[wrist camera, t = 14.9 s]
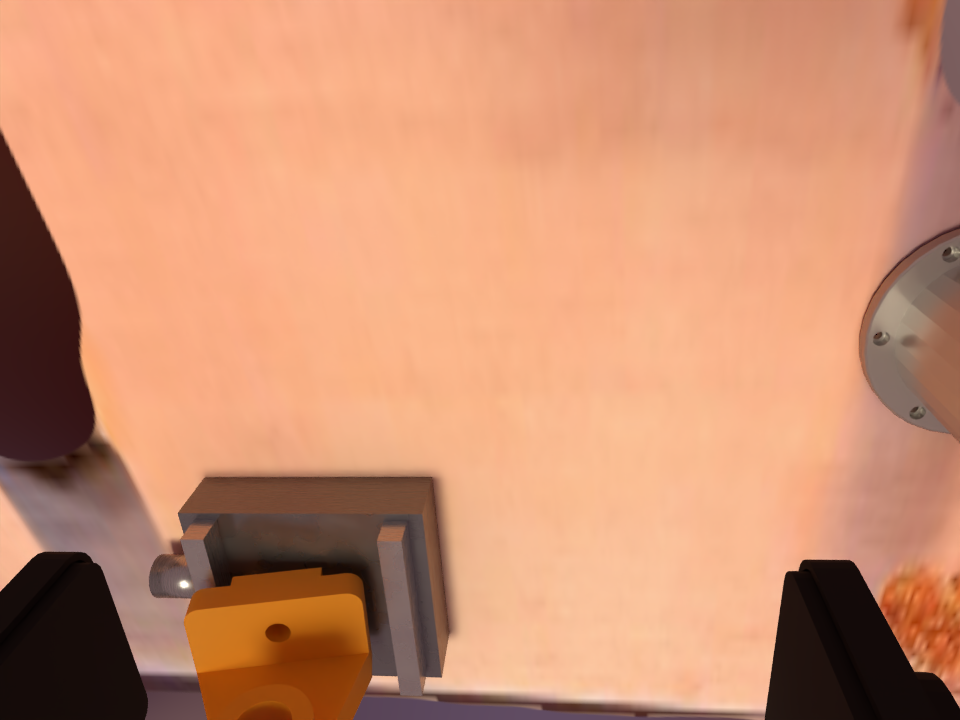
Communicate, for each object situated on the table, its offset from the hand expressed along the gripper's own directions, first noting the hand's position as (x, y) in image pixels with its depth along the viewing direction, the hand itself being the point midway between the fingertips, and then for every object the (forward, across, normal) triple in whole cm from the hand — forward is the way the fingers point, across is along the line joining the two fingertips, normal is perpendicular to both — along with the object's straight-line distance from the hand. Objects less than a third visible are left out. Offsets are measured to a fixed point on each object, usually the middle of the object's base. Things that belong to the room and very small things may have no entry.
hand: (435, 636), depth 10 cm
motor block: (+33, +17, +27) cm, 46 cm away
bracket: (+28, +17, +27) cm, 43 cm away
